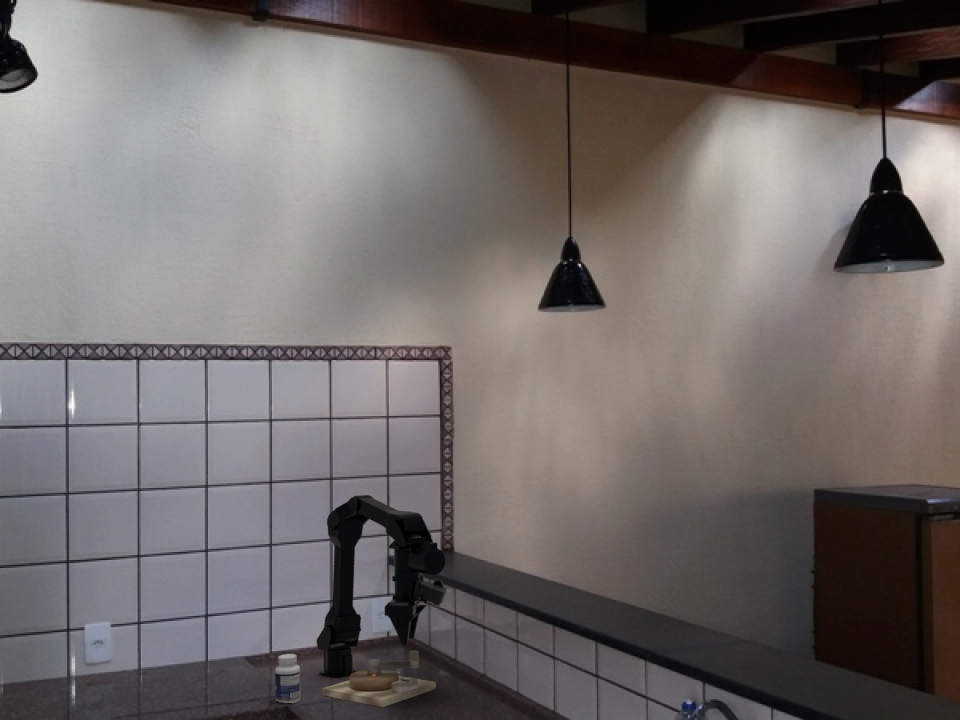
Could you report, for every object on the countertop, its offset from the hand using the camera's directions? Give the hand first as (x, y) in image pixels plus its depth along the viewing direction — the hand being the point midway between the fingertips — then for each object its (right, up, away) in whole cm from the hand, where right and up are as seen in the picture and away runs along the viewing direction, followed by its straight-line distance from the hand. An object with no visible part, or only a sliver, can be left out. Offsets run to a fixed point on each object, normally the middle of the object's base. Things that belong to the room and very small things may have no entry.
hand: (408, 641), depth 233 cm
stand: (-7, -12, +4) cm, 15 cm away
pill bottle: (-26, -13, -2) cm, 29 cm away
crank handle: (-6, -11, +4) cm, 13 cm away
